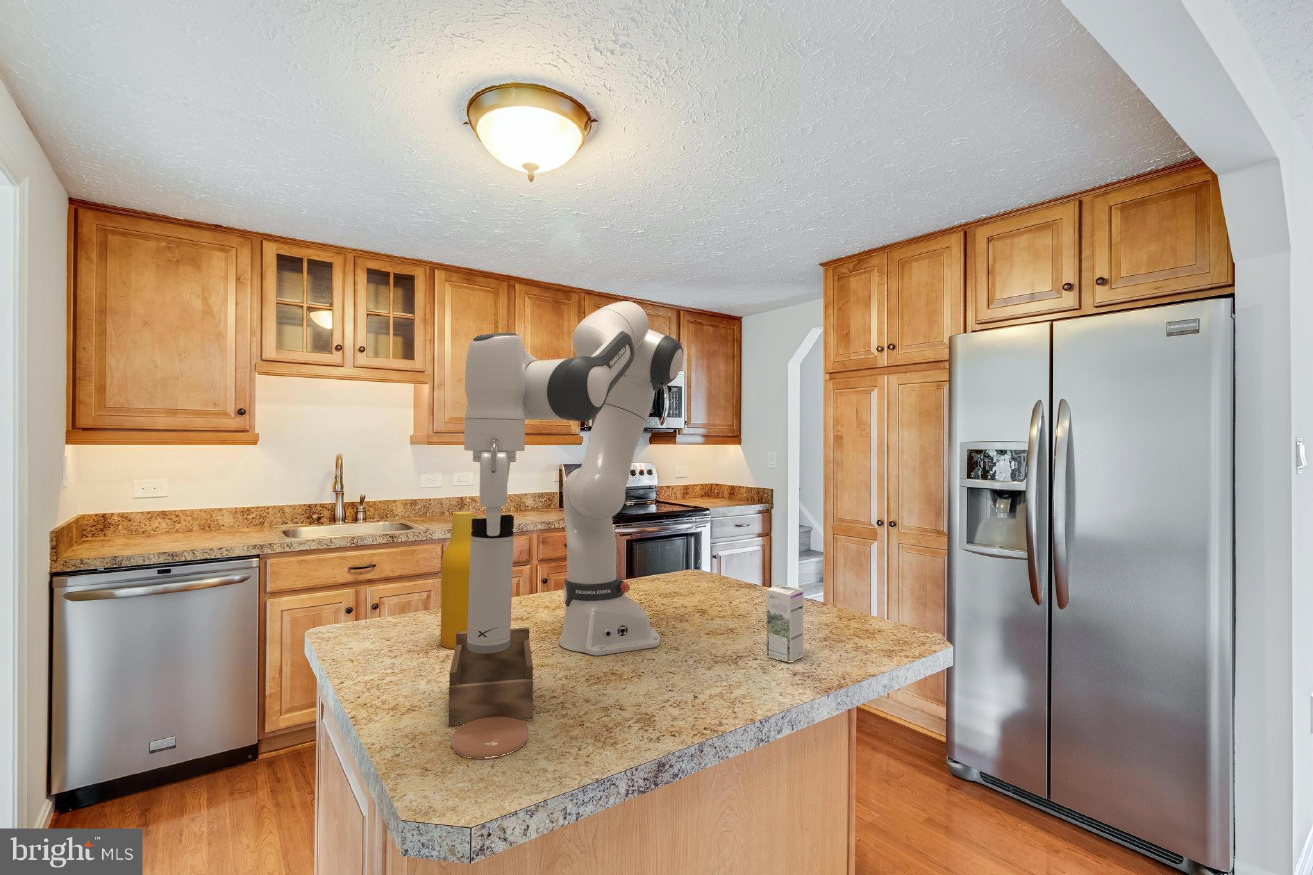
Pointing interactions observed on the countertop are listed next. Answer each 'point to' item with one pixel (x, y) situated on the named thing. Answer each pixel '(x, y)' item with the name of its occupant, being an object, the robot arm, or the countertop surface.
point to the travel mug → (490, 586)
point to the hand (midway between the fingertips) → (493, 531)
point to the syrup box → (785, 622)
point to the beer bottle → (456, 580)
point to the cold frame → (491, 681)
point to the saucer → (489, 737)
